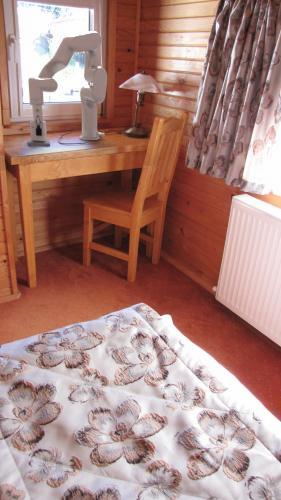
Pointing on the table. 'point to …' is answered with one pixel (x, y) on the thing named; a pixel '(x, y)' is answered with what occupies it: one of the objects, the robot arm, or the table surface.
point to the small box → (33, 131)
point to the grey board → (38, 143)
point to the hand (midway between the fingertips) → (38, 134)
